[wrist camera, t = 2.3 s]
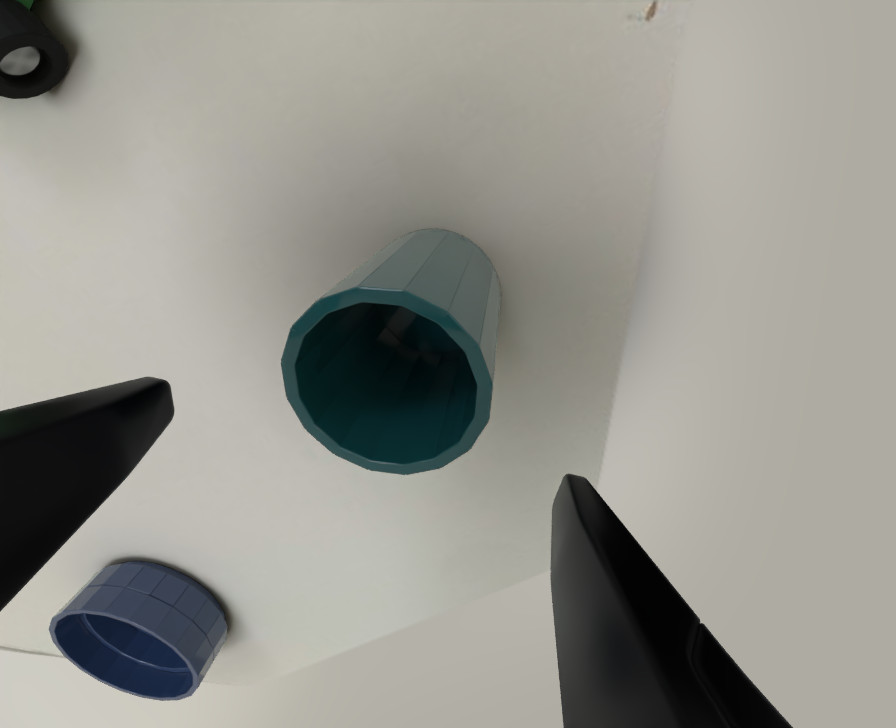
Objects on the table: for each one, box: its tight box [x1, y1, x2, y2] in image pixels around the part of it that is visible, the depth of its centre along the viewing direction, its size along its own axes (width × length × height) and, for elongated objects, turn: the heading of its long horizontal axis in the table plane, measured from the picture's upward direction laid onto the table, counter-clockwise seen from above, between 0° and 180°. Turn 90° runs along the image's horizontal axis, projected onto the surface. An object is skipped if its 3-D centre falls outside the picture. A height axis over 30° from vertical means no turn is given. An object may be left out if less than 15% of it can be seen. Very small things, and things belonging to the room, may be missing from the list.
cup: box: [281, 229, 501, 475], centre depth 15 cm, size 6×6×8 cm
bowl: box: [49, 561, 227, 701], centre depth 31 cm, size 11×11×4 cm
